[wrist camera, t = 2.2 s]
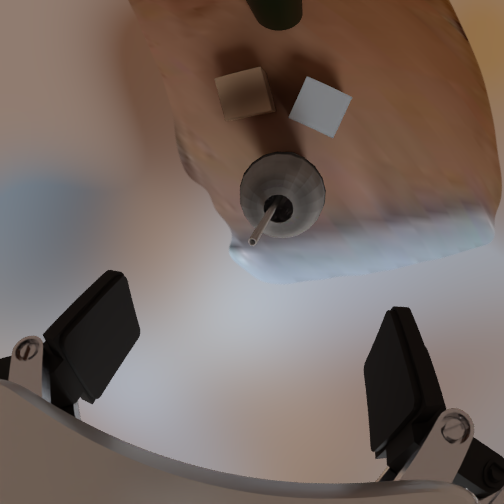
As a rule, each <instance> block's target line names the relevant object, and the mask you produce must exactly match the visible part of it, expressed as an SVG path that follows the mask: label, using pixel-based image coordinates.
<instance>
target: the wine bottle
mask: <svg viewBox="0 0 504 504" xmlns="http://www.w3.org/2000/svg"><path fill="white" fill-rule="evenodd" d="M246 1H247V3H248V4H249V6H250V8H251V10H252V12H253V14H254V15H255V17H256V19H257V21H258V22H259V23H260V24H261V25H262V26H264V27H266V28H268V29H271V30H286V29H290V28H292V27H294V26H295V25H297V24H298V23H299V21H300V20H301V18H302V0H246Z"/></svg>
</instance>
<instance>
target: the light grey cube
mask: <svg viewBox="0 0 504 504" xmlns="http://www.w3.org/2000/svg"><path fill="white" fill-rule="evenodd" d="M351 99H352V97H350V96H349V95H347V94H345V93H343V92H341V91H338V90H336V89H334V88H332V87H330V86H328V85H326V84H324V83H321V82H319V81H317V80H315V79H312V78H310V77H306V80H305V82H304V84H303V86H302V88H301V91H300V93H299V95H298V97H297V100H296V102H295V104H294V106H293V108H292V111H291V113H290V115H289V117H288V118H290V119H292V120H295V121H297V122H299V123H302V124H304V125H306V126H308V127H310V128H313V129H315V130H317V131H319V132H321V133H323V134H325V135H327V136H329V137H331V138H333V137H334V135H335V133H336V131H337V129H338V127H339V125H340V123H341V120H342V118H343V116H344V114H345V112H346V110H347V107H348V105H349V103H350V101H351Z"/></svg>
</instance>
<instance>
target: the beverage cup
mask: <svg viewBox="0 0 504 504" xmlns="http://www.w3.org/2000/svg"><path fill="white" fill-rule="evenodd" d="M325 192H326V190H325V186H324V182H323V178H322V177H321V175H320V173H319V172H318V170H317V169H316V167H315V166H314V165H313V164H311V163H310V162H309V161H308V160H307V159H305V158H304V157H301V156H299V155H298V154H295V153H293V152H274V153H270V154H266V155H263V156H262V157H260V158H259V159H257V160H256V161H254V162H253V163H252V164H251V165H250V166H249V168H248V169H247V170H246V172H245V173H244V175H243V179H242V182H241V185H240V204H241V207H242V210H243V213H244V215H245V217H246V218H247V219H248V221H249V222H250V224H251V225H252V226H253V227H254V228H256V229H255V230H254V232H253V234H252V235H251V237H250V238H249V240H248V243H249V244H250V245H251V246H255V245H256V244H257V242H258V240H259V238H260V237H261V235H262V233H263V234H266V235H268V236H271V237H277V238H288V237H292V236H297V235H299V234H301V233H302V232H304V231H306V230H308V229H309V228H310V227H311V226H312V225H313V224H314V223H315V221H316V220H317V219H318V217H319V215H320V213H321V211H322V208H323V206H324V204H325Z"/></svg>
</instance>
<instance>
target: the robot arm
mask: <svg viewBox="0 0 504 504" xmlns="http://www.w3.org/2000/svg"><path fill="white" fill-rule="evenodd" d="M43 336H44V338H45V340H46V341H45V342H44V343H43V342H42V340H41V339H40V338H39V337H37V336H28V337H25V338H23V339H21V340H20V341H19V342H18V343H17V344H16V345H15V347H14V348H13V351H12V356H9V357H5V358H2V359H0V504H504V458H503V457H502V456H500V455H499V454H497V453H496V452H495V451H493V450H491V449H490V448H489V447H487V446H486V445H484V444H482V443H481V442H480V441H478V440H477V439H475V438H474V437H473V435H474V424H473V422H472V419H471V418H470V416H469V415H468V414H467V413H465V412H464V411H463V410H460V409H456V408H451V409H447V410H446V406H445V403H444V400H443V396H442V392H441V389H440V386H439V383H438V379H437V376H436V373H435V370H434V367H433V364H432V361H431V359H430V356H429V353H428V350H427V348H426V347H425V345H424V343H423V340H422V337H421V335H420V332H419V330H418V327H417V324H416V322H415V320H414V317H413V315H412V313H411V310H410V308H407V307H393V308H392V309H391V310H388V311H387V312H386V314H385V317H384V319H383V322H382V324H381V327H380V329H379V332H378V334H377V337H376V339H375V341H374V344H373V346H372V348H371V351H370V353H369V355H368V357H367V360H366V362H365V365H364V378H365V386H366V395H367V405H368V416H369V428H370V444H371V450H372V451H373V452H375V456H376V457H375V458H376V459H380V458H387V466H388V467H387V468H386V469H385V470H384V472H383V473H382V474H381V476H380V477H379V478H378V479H377V480H376V481H375V482H370V483H350V484H324V483H323V484H322V483H321V484H320V483H318V484H317V483H297V482H284V481H274V480H266V479H258V478H252V477H245V476H239V475H234V474H229V473H224V472H219V471H215V470H210V469H206V468H202V467H198V466H195V465H191V464H187V463H184V462H180V461H177V460H174V459H170V458H167V457H164V456H162V455H159V454H156V453H153V452H150V451H147V450H145V449H142V448H140V447H137V446H134V445H132V444H130V443H127V442H124V441H122V440H120V439H118V438H116V437H113V436H111V435H109V434H107V433H105V432H103V431H100V430H98V429H96V428H94V427H92V426H90V425H88V424H86V423H85V422H82V421H81V418H80V412H79V405H78V399H79V398H80V397H81V398H82V399H83V400H85V401H87V402H89V403H91V404H93V403H94V401H95V399H98V398H99V397H100V396H101V395H102V393H103V392H104V390H105V389H106V387H107V385H108V384H109V382H110V380H111V379H112V377H113V376H114V374H115V373H116V371H117V370H118V368H119V367H120V365H121V364H122V362H123V361H124V359H125V357H126V356H127V354H128V353H129V351H130V350H131V348H132V347H133V345H134V344H135V342H136V341H137V340H138V338H139V336H140V327H139V324H138V320H137V317H136V313H135V309H134V305H133V302H132V298H131V294H130V289H129V285H128V281H127V278H126V277H125V276H124V274H123V273H122V272H118V271H113V270H108V271H106V272H105V273H104V274H103V275H102V276H101V277H100V278H98V280H96V281H95V282H94V283H93V284H92V285H91V286H90V287H89V288H88V289H87V290H86V291H85V292H84V293H83V294H82V295H81V296H80V297H79V298H78V299H77V300H76V301H75V302H74V303H73V304H72V305H71V306H70V307H69V308H68V309H67V310H66V311H65V312H64V313H63V314H62V315H61V316H60V317H59V318H58V319H57V320H56V321H55V322H54V323H53V324H52V325H51V326H50V327H49V328H48V329H47V331H46V332H45V333H44V334H43Z"/></svg>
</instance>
